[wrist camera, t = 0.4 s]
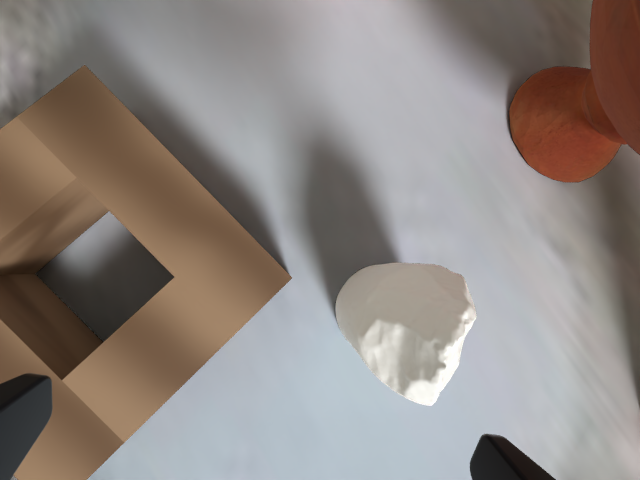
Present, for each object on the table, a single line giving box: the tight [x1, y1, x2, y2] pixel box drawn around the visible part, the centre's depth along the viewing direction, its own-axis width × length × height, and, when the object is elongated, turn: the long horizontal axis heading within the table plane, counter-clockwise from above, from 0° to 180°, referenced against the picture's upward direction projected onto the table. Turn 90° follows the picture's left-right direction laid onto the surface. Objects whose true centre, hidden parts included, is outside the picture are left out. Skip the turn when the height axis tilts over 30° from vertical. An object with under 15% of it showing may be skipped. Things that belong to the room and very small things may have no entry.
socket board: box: [0, 65, 292, 480], centre depth 19 cm, size 15×15×5 cm
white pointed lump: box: [335, 263, 477, 406], centre depth 17 cm, size 6×12×6 cm
